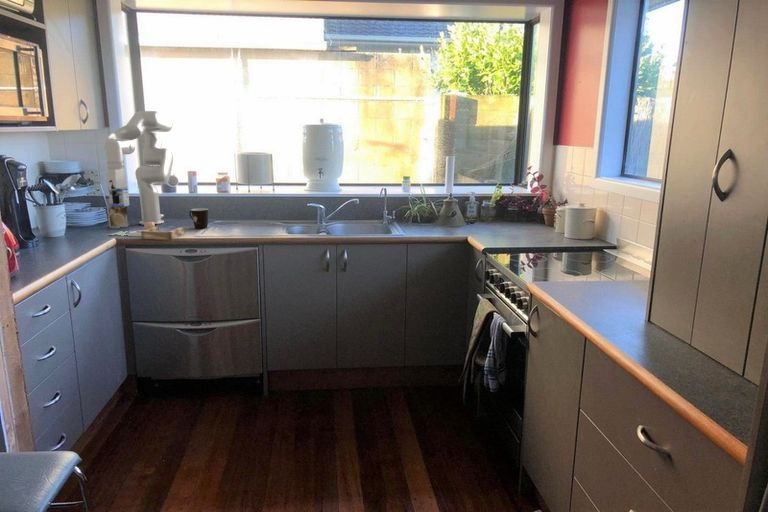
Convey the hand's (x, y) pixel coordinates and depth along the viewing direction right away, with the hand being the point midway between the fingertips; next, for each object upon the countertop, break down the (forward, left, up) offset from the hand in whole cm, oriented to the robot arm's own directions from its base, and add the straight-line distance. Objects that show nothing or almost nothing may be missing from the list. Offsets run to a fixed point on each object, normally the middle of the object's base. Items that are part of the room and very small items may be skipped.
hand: (119, 202), depth 276 cm
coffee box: (-18, -14, -16) cm, 28 cm away
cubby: (+3, +23, -16) cm, 28 cm away
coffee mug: (-22, +30, -16) cm, 41 cm away
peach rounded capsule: (-7, +10, -16) cm, 20 cm away
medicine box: (0, 0, -2) cm, 2 cm away
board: (0, 0, -16) cm, 16 cm away
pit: (+2, +10, -16) cm, 19 cm away
